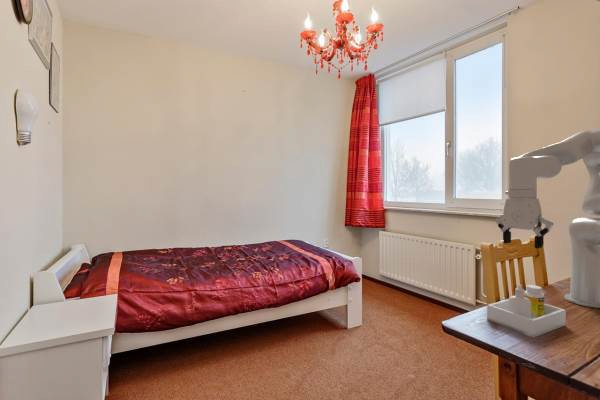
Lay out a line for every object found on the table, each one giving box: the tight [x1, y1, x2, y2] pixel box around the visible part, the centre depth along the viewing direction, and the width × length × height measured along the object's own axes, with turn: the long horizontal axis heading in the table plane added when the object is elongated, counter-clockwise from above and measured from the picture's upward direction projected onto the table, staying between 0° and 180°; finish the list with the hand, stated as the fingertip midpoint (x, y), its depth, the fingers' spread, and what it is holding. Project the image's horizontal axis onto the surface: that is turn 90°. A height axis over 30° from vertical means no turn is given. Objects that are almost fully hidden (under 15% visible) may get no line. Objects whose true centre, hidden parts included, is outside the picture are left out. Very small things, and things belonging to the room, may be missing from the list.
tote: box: [486, 298, 567, 338], centre depth 101 cm, size 18×14×5 cm
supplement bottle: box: [524, 284, 545, 319], centre depth 103 cm, size 6×6×10 cm
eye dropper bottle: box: [508, 284, 531, 318], centre depth 99 cm, size 4×6×12 cm
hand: (522, 245), depth 106 cm, fingers open, 9 cm apart
